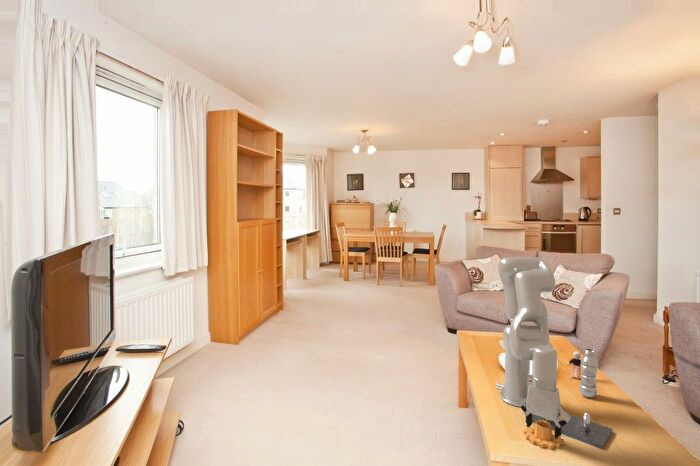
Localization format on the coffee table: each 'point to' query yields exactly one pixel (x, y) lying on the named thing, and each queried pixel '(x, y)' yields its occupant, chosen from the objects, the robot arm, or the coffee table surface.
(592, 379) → the plastic bottle
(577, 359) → the grandmother figurine
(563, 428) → the carrier plate
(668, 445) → the coffee table surface
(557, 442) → the planet gear
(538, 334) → the robot arm
